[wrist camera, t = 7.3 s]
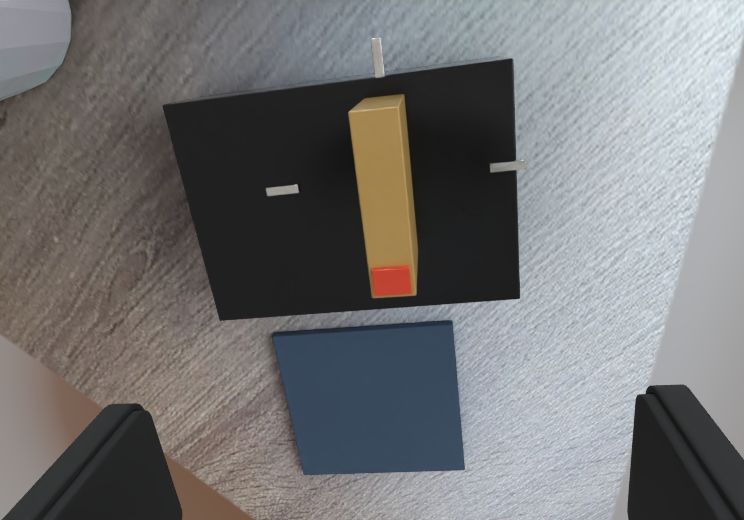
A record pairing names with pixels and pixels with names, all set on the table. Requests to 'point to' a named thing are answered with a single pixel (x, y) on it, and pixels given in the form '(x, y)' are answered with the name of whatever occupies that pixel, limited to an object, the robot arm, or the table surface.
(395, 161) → the manila folder box
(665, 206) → the table surface
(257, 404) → the table surface
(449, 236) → the black box
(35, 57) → the mug
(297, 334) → the mat
